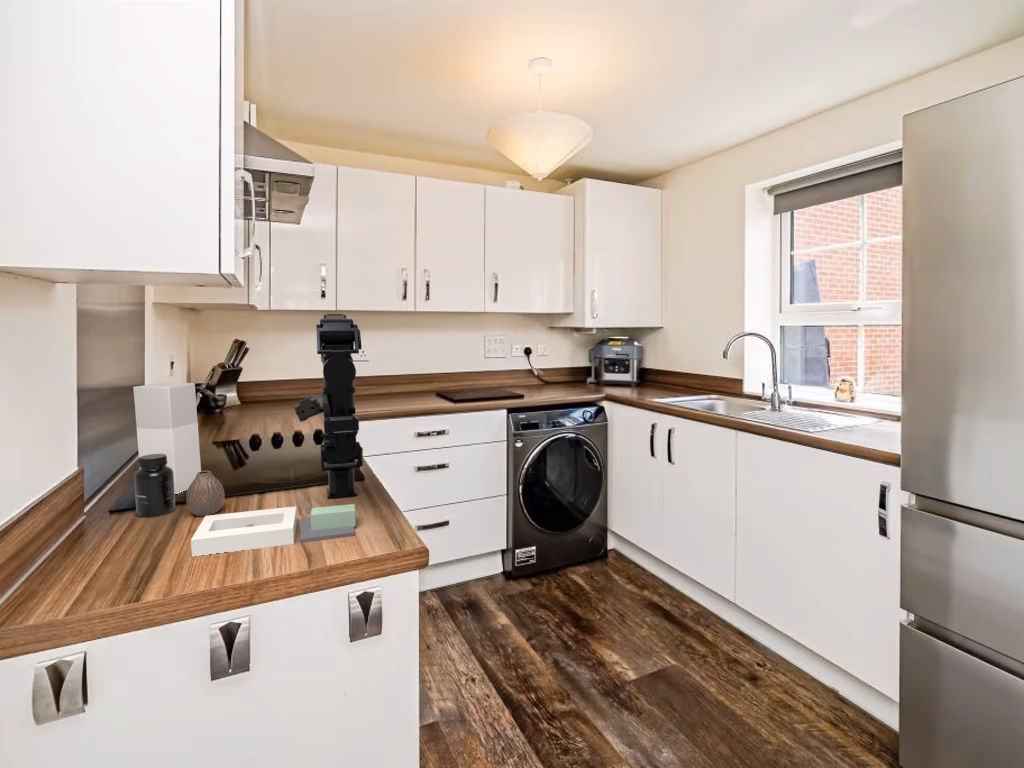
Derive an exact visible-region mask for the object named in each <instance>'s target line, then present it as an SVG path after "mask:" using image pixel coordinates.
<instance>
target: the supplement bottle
mask: <svg viewBox="0 0 1024 768" xmlns="http://www.w3.org/2000/svg"><path fill="white" fill-rule="evenodd" d="M138 463H139V464H138V467H139V469H138V470H137V471H136V472H135V473H134V476H133V480H134V482H133V483H134V494H135V495H134V498H135V508H136V509H135V510H136V514H137V515H138V516H139V517H141V518H154V517H155V516H157V517H160V515H162V516H165V515H168V514H170V513H172V512H174V510H175V509H176V495H175V492H174V476H173V470H172V469H171V468H170V467H168V466H166V464H167V456H166V454H150V455H145V456H142V457H140V458H139V457H138ZM140 467H141V469H140ZM164 514H165V515H164ZM155 518H156V517H155Z"/></svg>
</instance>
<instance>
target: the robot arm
mask: <svg viewBox="0 0 1024 768" xmlns="http://www.w3.org/2000/svg"><path fill="white" fill-rule="evenodd" d="M315 327H316V330H315V331H316V353H317V355H320V362H321V363H322V368H323V369H322V374H323V387H322V393H321V394H318V395H315V396H313V397H310V398H309V397H306V398H304V399H300V400H299V402H297V403H296V404H294V405H293V409H294V412H295V414H296V416H297V418H298V420H299V422H301V423H302V422H305V421H307V420H308V419H310V418H312V417H315V416H317V415H319V414H323V416H324V417H323V427H324V428H323V431H324V434H323V443H322V444H320V456H321V457H320V461H321V462H320V463H321V472H325V471H327V474H328V476H327V477H328V478H327V479H328V481H327V482H328V488H326V498H327V499H335V498H336V499H338V498H345V497H355V496H358V491H357V485H355V469H360V468H361V467H363V465H364V462H363V461H364V459H363V458H364V457H363V454H364V449H363V448H364V447H362V445H361V444H360V441H357V435H358V433H359V431H360V421H359V417H358V416H357V415H356V413H357V412H356V407H355V406H356V405H355V404H356V403H355V401H356V400H355V393H356V390H355V388H356V387H355V378H356V376H357V375H356V374H357V369H356V367H355V364H354V358H353V356H352V354H359V353H360V350H362V336H361V330H360V329H359V327H358V325H357V323H356V324H355V323H354V320H353V319H352V318H347V314H344V313H326V314H323V318H320V319H319V324H318V323H317V324H316V326H315Z"/></svg>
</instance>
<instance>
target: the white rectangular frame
mask: <svg viewBox="0 0 1024 768" xmlns="http://www.w3.org/2000/svg"><path fill="white" fill-rule="evenodd" d="M297 514H298V513H297V506H296V505H295V506H287V507H286V506H285V507H277V508H268V509H259V510H258V509H257V510H249V511H239V512H230V513H221V514H213V515H209V516H204V517H203V519H202V521H201V523H200V524H199V526H198V528H197V529H196V531H195V532H194V534H193V536H192V537H191V539H190V549H191V550H190V551H191V557H192V558H194V557H195V556H196V557H202V555H204V556H210V555H209V554H212V555H217V554H216V553H220V554H225V553H224V552H228V553H234V552H235V551H236V552H242V550H244V551H250V550H251V549H252V550H259V549H266V548H274V547H283V546H290V545H294V544H295V539H296V538H295V537H296V529H297V526H298V525H297V524H298V515H297Z"/></svg>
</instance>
